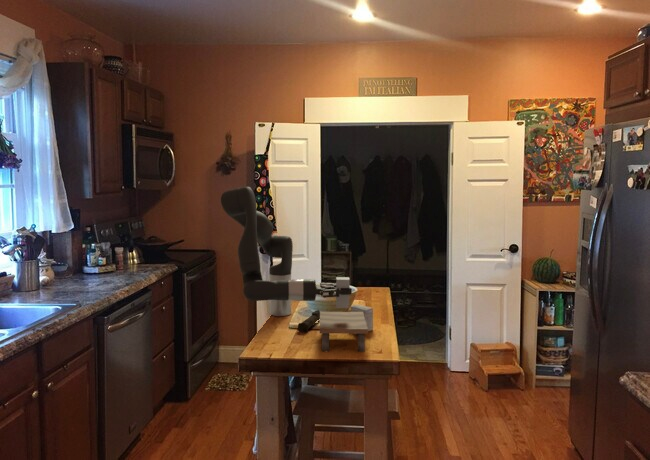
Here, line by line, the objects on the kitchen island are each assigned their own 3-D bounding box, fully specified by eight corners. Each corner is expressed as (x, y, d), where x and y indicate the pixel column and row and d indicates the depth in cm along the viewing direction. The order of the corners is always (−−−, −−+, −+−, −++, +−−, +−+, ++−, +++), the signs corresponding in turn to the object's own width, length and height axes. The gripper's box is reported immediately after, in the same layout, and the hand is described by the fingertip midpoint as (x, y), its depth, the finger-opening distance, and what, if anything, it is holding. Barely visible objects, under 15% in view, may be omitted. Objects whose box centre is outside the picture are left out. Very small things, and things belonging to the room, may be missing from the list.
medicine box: (373, 330, 200) (373, 307, 199) (365, 332, 196) (365, 310, 196) (358, 325, 205) (358, 304, 204) (350, 328, 202) (350, 306, 201)
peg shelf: (320, 332, 196) (320, 311, 195) (362, 332, 196) (363, 311, 195) (319, 352, 174) (319, 328, 173) (367, 352, 174) (367, 329, 173)
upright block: (335, 304, 186) (336, 277, 185) (348, 305, 186) (349, 277, 185) (336, 308, 181) (336, 279, 180) (349, 308, 181) (349, 279, 180)
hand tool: (307, 333, 195) (307, 321, 195) (297, 332, 197) (297, 320, 196) (325, 321, 213) (325, 309, 212) (316, 319, 214) (316, 308, 214)
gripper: (302, 283, 174) (353, 283, 176) (300, 275, 188) (347, 275, 190) (302, 305, 175) (353, 305, 176) (300, 296, 189) (347, 295, 191)
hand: (350, 289), depth 183 cm, fingers closed on upright block, 4 cm apart
